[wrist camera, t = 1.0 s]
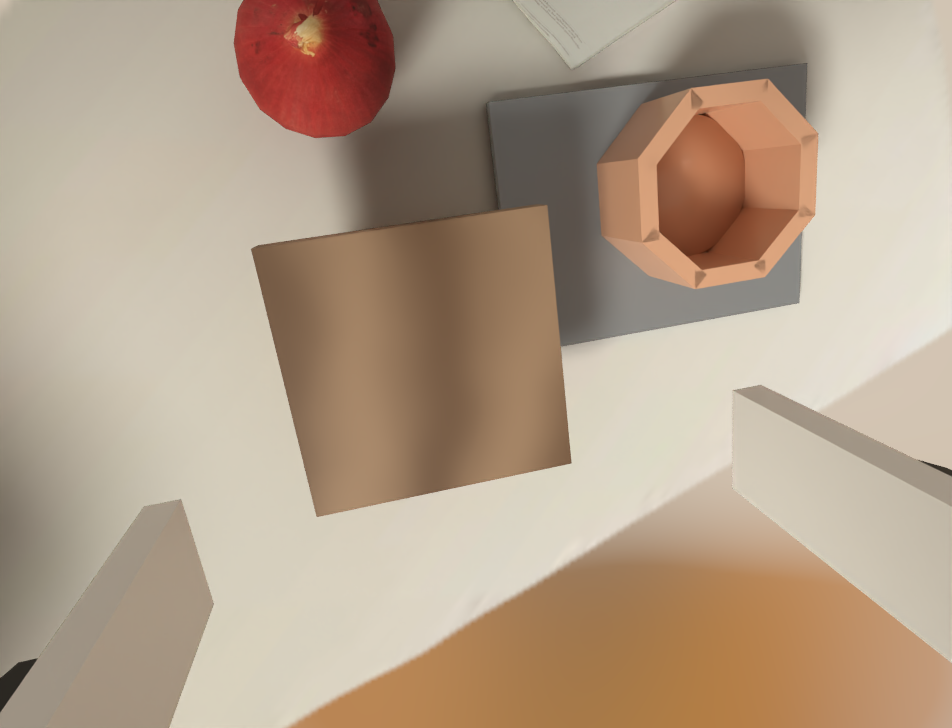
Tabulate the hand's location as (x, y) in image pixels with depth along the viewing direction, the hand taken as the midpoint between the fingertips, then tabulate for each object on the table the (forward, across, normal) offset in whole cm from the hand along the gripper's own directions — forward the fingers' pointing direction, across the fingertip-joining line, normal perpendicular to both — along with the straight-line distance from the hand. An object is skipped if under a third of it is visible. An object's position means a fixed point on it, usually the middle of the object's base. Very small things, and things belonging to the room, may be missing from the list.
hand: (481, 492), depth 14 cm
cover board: (+12, 0, 0) cm, 12 cm away
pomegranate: (+17, -2, +12) cm, 21 cm away
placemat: (+17, +13, +4) cm, 21 cm away
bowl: (+16, +14, +5) cm, 22 cm away
